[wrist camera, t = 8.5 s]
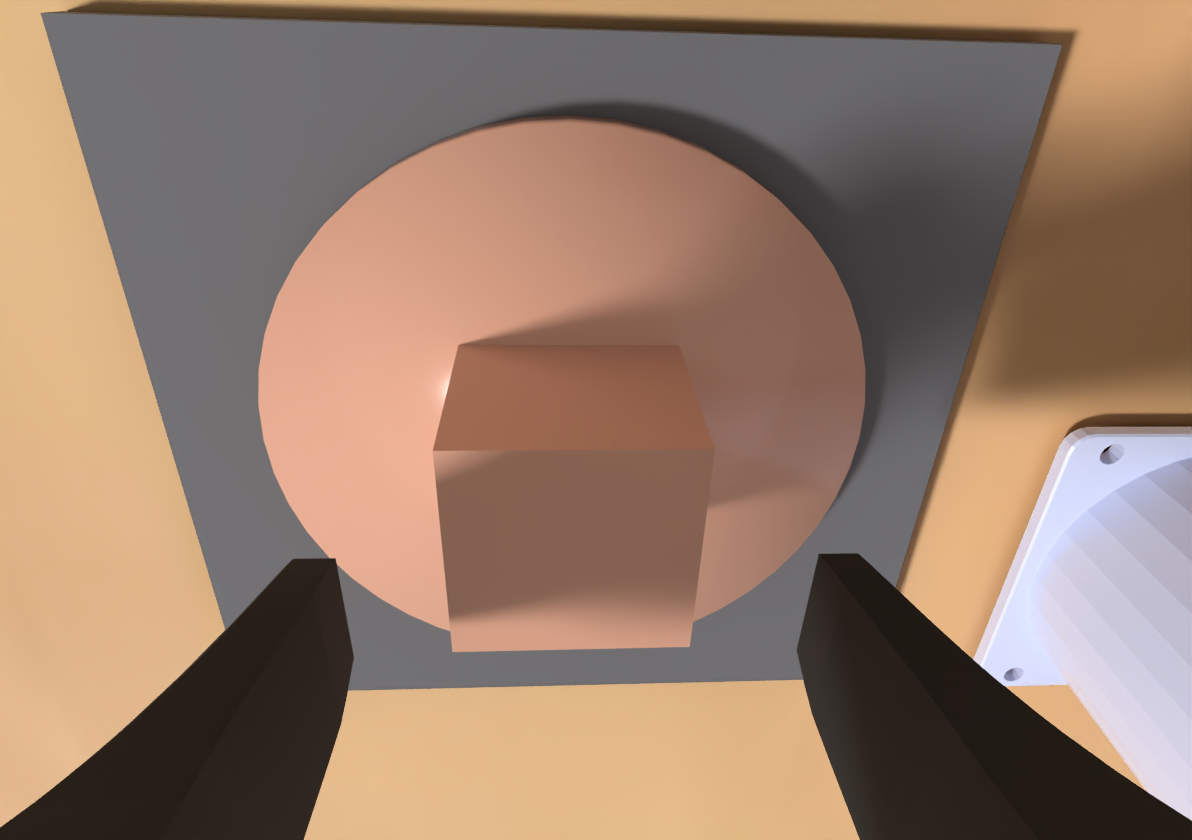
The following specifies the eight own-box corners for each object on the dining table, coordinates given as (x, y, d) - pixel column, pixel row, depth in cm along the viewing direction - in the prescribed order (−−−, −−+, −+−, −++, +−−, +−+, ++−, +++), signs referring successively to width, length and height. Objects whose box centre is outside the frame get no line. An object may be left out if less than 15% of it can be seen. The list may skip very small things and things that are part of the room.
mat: (1042, 42, 13) (1062, 45, 12) (859, 660, 20) (867, 678, 20) (62, 11, 12) (40, 12, 11) (252, 673, 19) (244, 692, 19)
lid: (912, 121, 13) (1060, 182, 9) (800, 618, 19) (861, 778, 15) (208, 107, 12) (59, 166, 8) (322, 628, 18) (263, 797, 14)
